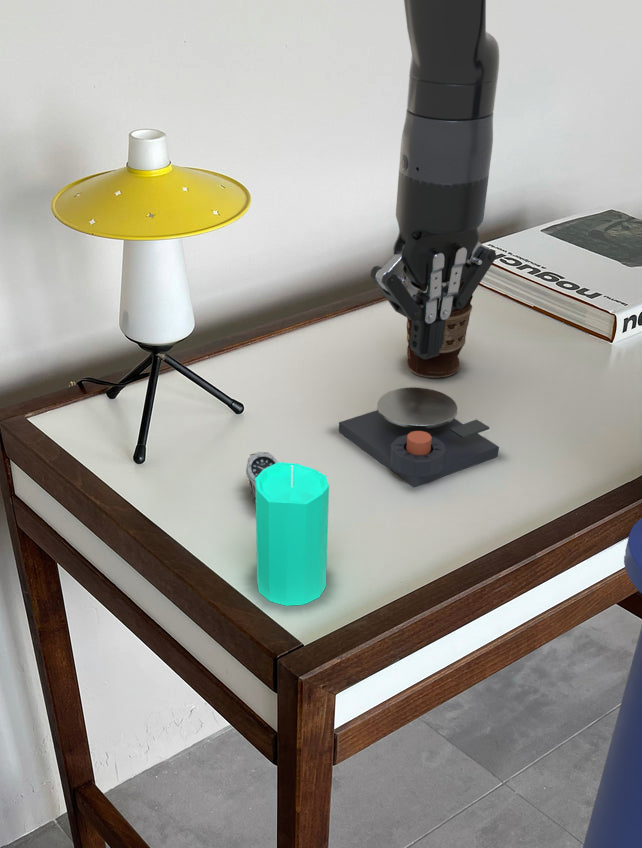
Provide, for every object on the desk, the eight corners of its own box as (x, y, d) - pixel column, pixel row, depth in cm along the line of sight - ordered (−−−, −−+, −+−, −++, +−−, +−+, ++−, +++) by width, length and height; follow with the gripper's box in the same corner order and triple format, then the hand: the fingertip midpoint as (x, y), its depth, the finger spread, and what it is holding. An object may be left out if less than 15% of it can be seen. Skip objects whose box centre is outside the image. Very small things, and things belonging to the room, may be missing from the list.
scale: (502, 459, 104) (505, 434, 102) (411, 492, 99) (414, 466, 97) (418, 405, 114) (421, 381, 112) (332, 433, 109) (333, 408, 107)
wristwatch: (251, 517, 96) (250, 472, 93) (238, 483, 101) (237, 439, 98) (287, 513, 96) (287, 468, 94) (273, 478, 101) (273, 435, 99)
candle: (246, 571, 89) (243, 454, 82) (309, 556, 91) (311, 440, 84) (271, 612, 84) (270, 492, 77) (337, 596, 86) (342, 476, 79)
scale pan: (494, 427, 104) (494, 424, 103) (429, 449, 100) (430, 446, 100) (423, 383, 112) (423, 380, 111) (361, 403, 108) (361, 399, 108)
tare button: (435, 452, 100) (436, 438, 99) (416, 458, 99) (417, 445, 98) (420, 441, 102) (421, 428, 101) (401, 448, 101) (402, 434, 100)
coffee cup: (485, 373, 120) (498, 268, 113) (430, 390, 117) (440, 283, 109) (437, 346, 126) (447, 245, 119) (384, 362, 123) (391, 259, 116)
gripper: (409, 191, 79) (393, 388, 89) (534, 165, 85) (506, 353, 95) (353, 167, 85) (344, 356, 95) (474, 145, 90) (454, 325, 100)
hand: (425, 354), depth 95 cm, fingers closed
